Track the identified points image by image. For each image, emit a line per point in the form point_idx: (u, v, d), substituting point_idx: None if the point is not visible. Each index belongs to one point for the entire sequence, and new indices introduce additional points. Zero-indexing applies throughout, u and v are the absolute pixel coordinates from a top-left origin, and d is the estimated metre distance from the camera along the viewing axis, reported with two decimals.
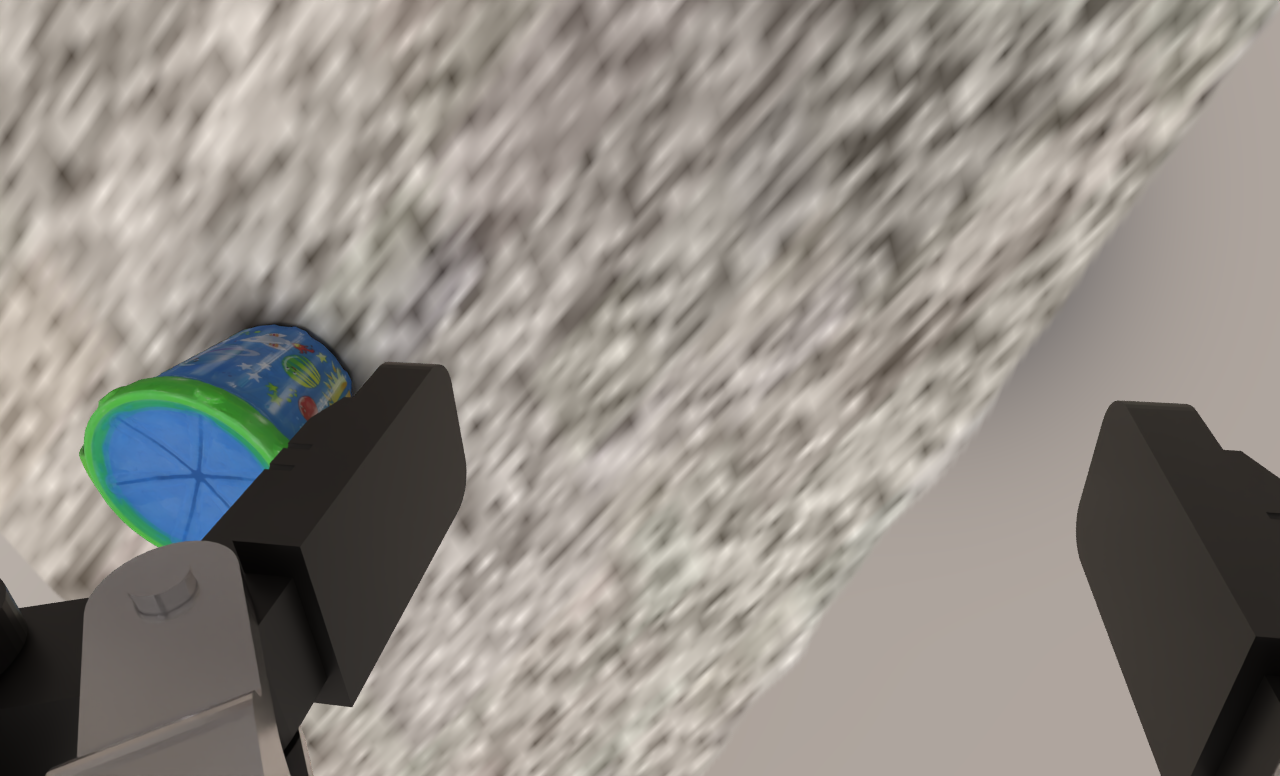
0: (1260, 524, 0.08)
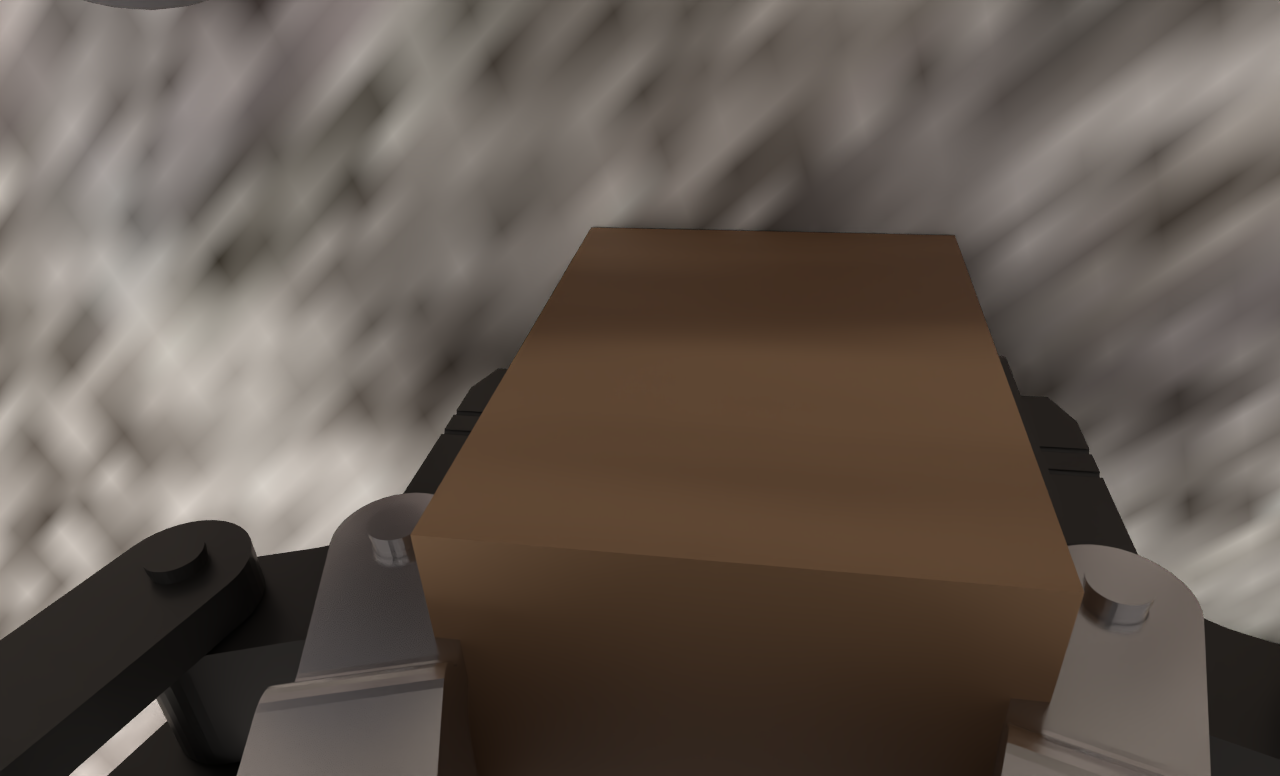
0: None
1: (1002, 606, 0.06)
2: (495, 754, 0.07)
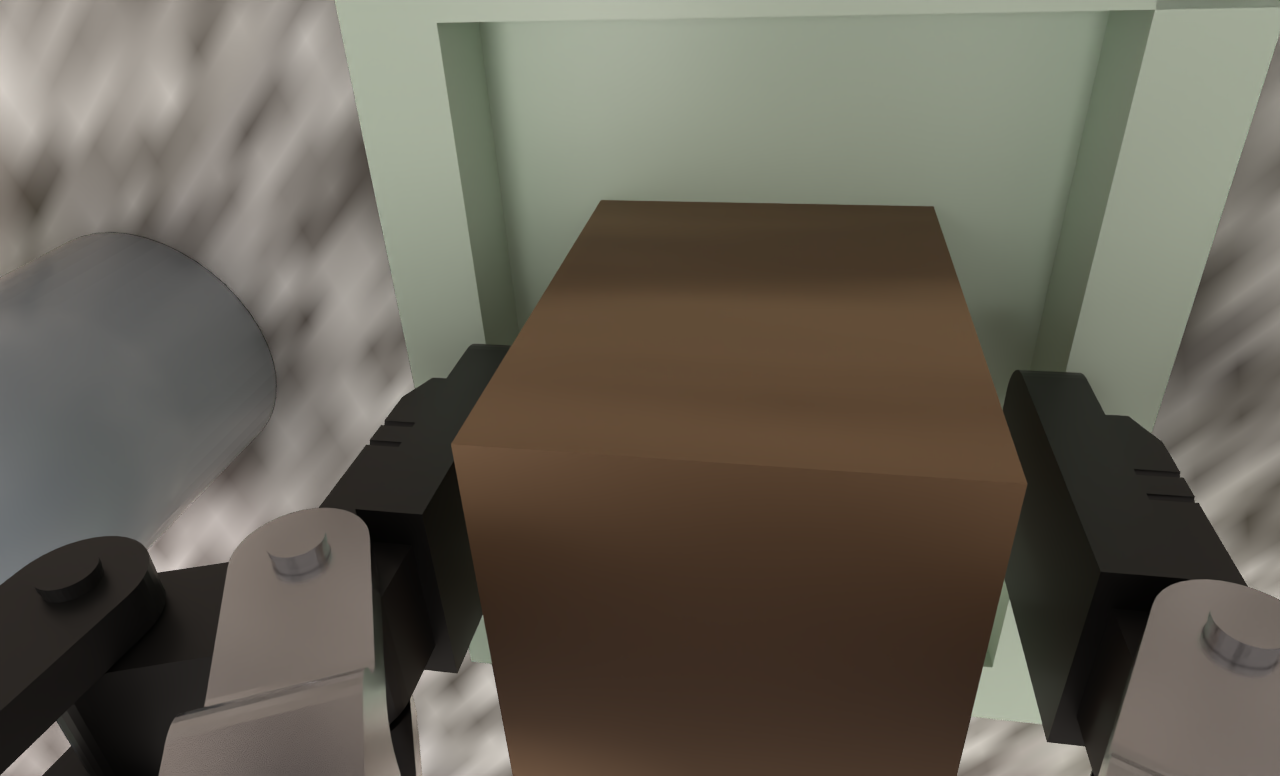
0: (1125, 477, 0.08)
1: (959, 498, 0.07)
2: (519, 652, 0.08)
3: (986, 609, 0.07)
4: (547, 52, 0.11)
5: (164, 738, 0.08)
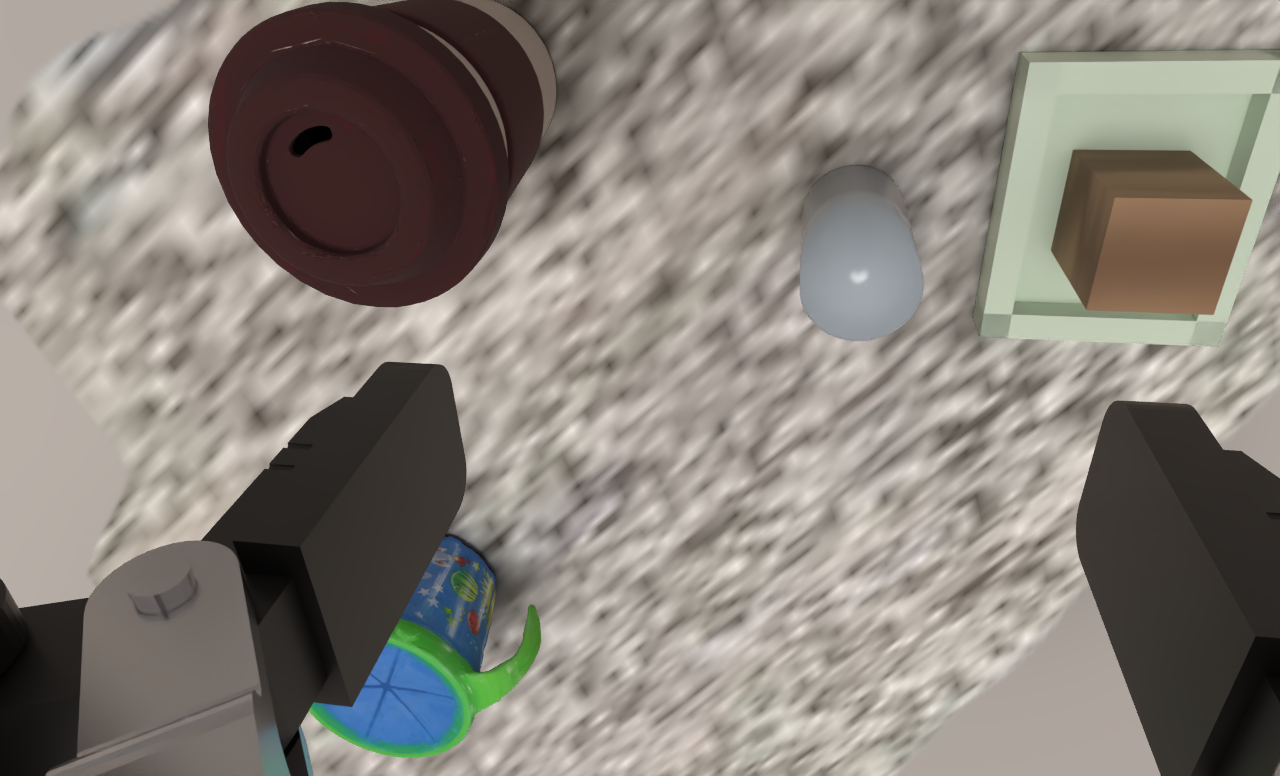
0: (1260, 524, 0.08)
1: (1236, 204, 0.31)
2: (1107, 260, 0.32)
3: (1238, 234, 0.31)
4: (1068, 101, 0.35)
5: None
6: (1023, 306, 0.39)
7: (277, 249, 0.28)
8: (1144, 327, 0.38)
